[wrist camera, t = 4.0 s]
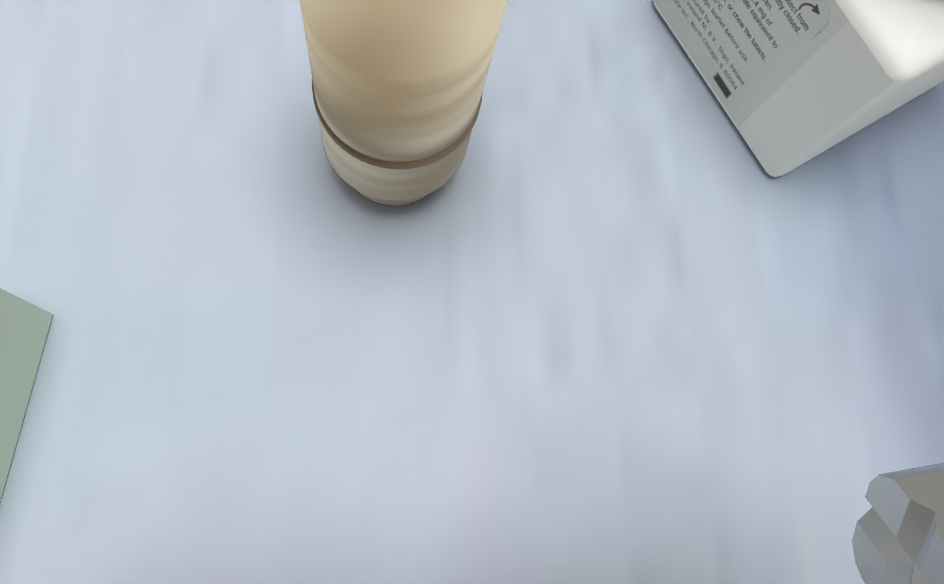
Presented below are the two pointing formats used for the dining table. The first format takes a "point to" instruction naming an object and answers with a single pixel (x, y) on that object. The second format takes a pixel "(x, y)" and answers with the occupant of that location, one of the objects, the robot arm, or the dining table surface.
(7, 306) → the hole block
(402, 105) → the peg
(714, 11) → the container
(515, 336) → the dining table surface
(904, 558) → the robot arm
